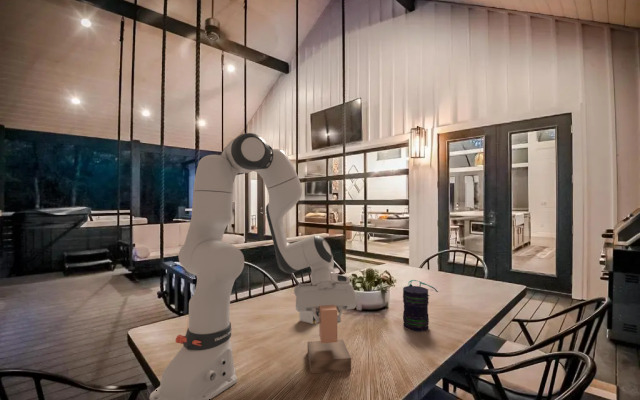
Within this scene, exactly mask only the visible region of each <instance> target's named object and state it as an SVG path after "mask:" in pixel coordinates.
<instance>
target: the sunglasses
mask: <svg viewBox="0 0 640 400" xmlns="http://www.w3.org/2000/svg"><path fill="white" fill-rule="evenodd" d="M412 282H419V287H422V286H421V285H424V286H427V287H430V288H432V289H433V290H435V291H436V292H437V293H439V291H438V290H437V288H435V287H433V286H432V285H430V284H428V283H425V282H422V281H420V280H417V279H411V280H409V281H408V283H407V285H408V286H413V284H412ZM429 296H431V295H429V294H428V297H429Z"/></svg>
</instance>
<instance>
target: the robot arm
mask: <svg viewBox="0 0 640 400" xmlns="http://www.w3.org/2000/svg"><path fill="white" fill-rule="evenodd" d="M252 172H255V173H256V174H258V175H259V176H260V178H261V179H262V180H263V183H264V185H265V188H266V190H267V193H268V203H267V205H266V206H265V214H266V218H267V223H268V227H269V231H270V236H271V238H272V241H273V247H274V251H275V252H274V253H275V258H276V264H277V266H278V268H279V270H281V271H282V272H284V273H285V274H289V275H292V274H294V273H296V272H298V271H301V270H303V269H307V268H309V267H310V269H311V273H310V281H311V282H309V283H298V284H297V285H295V286H294V287H293V291H294V292H293V294H294V295H295V310H296V311H297V312H299V313H300V312H304V311H311V314H312V315H313V317H314V318H315V321H316V323H315V324H316V325H319V324H320V323H321V320H320V316H317V314H316V311H319V307H320V306H325V305H335V306H336V308H337V324H339V323H342V318H341V316H342V313H343V310H354V309H355V308H356V307H357V304H358V299H357V295H356V292H355V289H354V287H353V285H352V284H351V281H350V280H351V279H350V277H349V276H346V275H343V274H339V273H336V271H335V268H334V266H335V262H334V255H333V251H332V248H331V245H330V244H329V242H328V241H327V239H325V238H324V237H322V236H320V235H316V234H315V235H311V236H309V237H306V238H303V239H300V240H298V241H295V242H292V243H291V242H288V240H287V235H286V231H285V228H284V224H283V219H284V217H285V215H286V214H287V213H288V212H289V211H291V210H292V209H293V208H294V207H295V206H296V204H298V202H299V200H300V199H301V198H302V193H303V187H302V184H301V181H300V178H299V176H298V174H297V171H296V169H295V167H294V165H293V163H292V162H291V159H290V158H289V157H288V156H287V154H286V153H285V152H284V150H282V149H279V148H272V147H271V145H270V144H268V143H267V142H266V140H265V139H263V137H262V136H260V135H258V134H256V133H253V132H247V133H242V134H241V133H240V134H239V135H238V136H236V137H235V138H234V139H232V140H231V141H229V143H228V144H227V145H226V146H225V147H224V148H223V150H221V153H220V154H209V155H206V156H203V157H201V159H200V160H199V161H198V165H197V167H196V171H195V175H194V182H193V190H192V191H193V193H192V206H191V217H190V218H191V219H190V222H189V227H188V231H187V234H186V237H185V241H184V244H183V245H182V246H181V247H180V249H179V251H178V261H179V263H180V266H181V267H183V269H184V270H185V271H186V272H187V273H189V274H192V275H194V276H196V286H195V288H194V289H195V290H194V292H193V295H192V296H191V297H190V299H189V301H188V327H187V330H186V333H185V335H182V334H178V335H177V336H176V338H175V339H174V340H175V343H176V344H181V345H182V347H181V348H180V349H179V350H178V352H177V353H176V355H175V356H174V357H173V358H172V359H171V360H170V362H169V363H168V365H167V366H166V367H165V369H164V370H163V372H162V374H161V379H160V385H159V386H158V387H157V388H155V390H153V391H152V392H151V393H150V395H149V400H209V399H210V400H211V399H213V398H215V397H216V396H218V395H219V394H221V393H222V392H223V391H226V390H227V389H229V388H230V387H231V386H233V385H235V384H237V382H238V377H237V374H236V368H235V367H236V366H235V363H234V354H233V348H232V343H231V337H232V323H231V321H230V320H231V319H230V315H231V313H230V312H231V295H232V290H233V286H234V283H235V281H236V280H237V278H238V277H239V276H240V275H241V273H242V272H243V269H244V267H245V257H244V256H245V255H244V254H243V252H242V250H241V249H239V247H236V246H235V245H234V244H232V243H229V242H227V241H223V237H224V234H225V230H226V229H227V227H228V225H229V224H230V223H231V221H232V219H233V218H232V217H233V202H234V183H235V179H236V177H237V176H238V175H244V174H247V173H248V174H249V173H252ZM156 390H157V391H156Z"/></svg>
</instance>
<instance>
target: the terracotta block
mask: <svg viewBox="0 0 640 400" xmlns="http://www.w3.org/2000/svg"><path fill="white" fill-rule="evenodd" d="M337 315H338V310H337V308H336V306H335V305H325V306H320V307H319V316H320V320H321V323H320V324H318V325H319V328H318V330H319V331H318V332H319V339H320V340H319V341H321V343H333V342H337V340H338V323H337Z"/></svg>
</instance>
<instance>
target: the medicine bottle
mask: <svg viewBox="0 0 640 400" xmlns="http://www.w3.org/2000/svg"><path fill="white" fill-rule="evenodd" d="M316 314H317V316H319V311H316ZM299 321H300V322H303V323H306V324H307V323H308V324H311V325H315V324H316V321H315V318H314V317H313V315H312V314H311V311H304V312H299Z"/></svg>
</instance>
